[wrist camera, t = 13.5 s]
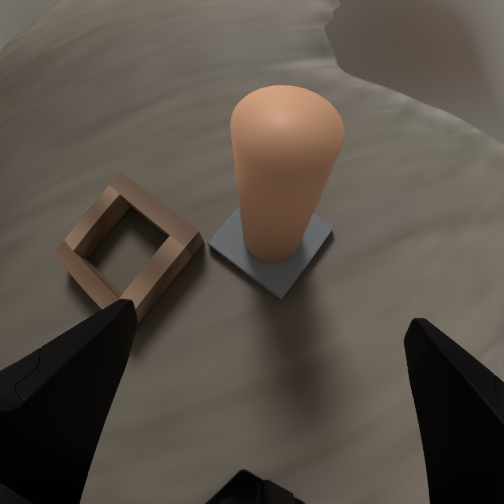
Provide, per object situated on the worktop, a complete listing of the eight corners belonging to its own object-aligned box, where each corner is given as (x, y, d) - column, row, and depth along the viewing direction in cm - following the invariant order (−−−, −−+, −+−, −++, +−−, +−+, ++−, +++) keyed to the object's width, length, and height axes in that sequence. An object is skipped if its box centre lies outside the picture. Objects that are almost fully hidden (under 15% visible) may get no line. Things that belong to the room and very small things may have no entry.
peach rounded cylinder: (256, 271, 23) (258, 188, 10) (234, 220, 24) (214, 102, 11) (310, 249, 23) (365, 151, 11) (285, 200, 24) (309, 76, 12)
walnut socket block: (133, 330, 22) (120, 328, 20) (69, 261, 24) (53, 254, 22) (204, 242, 24) (198, 231, 22) (131, 186, 26) (121, 172, 24)
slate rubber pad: (281, 300, 23) (282, 298, 22) (209, 246, 24) (207, 242, 23) (332, 230, 24) (334, 226, 24) (262, 183, 26) (262, 178, 25)
